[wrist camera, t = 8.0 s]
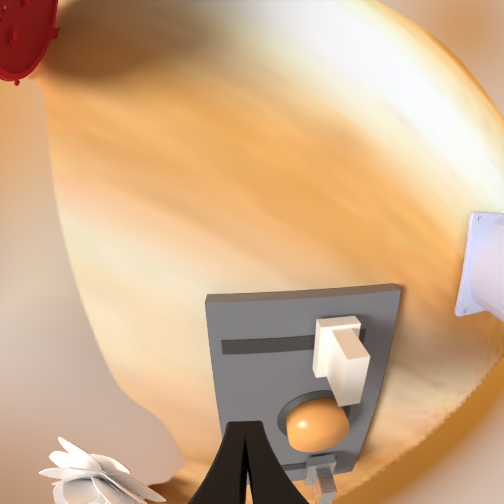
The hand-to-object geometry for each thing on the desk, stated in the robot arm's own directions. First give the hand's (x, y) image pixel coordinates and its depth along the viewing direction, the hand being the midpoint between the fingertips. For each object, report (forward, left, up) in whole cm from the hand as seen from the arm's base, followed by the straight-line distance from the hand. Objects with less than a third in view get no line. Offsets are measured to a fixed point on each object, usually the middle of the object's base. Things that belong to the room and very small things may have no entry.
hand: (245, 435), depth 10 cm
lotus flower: (+17, +20, -9) cm, 27 cm away
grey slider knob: (-6, +14, -7) cm, 17 cm away
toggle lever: (-5, 0, -7) cm, 9 cm away
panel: (-4, +7, -8) cm, 12 cm away
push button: (-5, +7, -8) cm, 12 cm away
